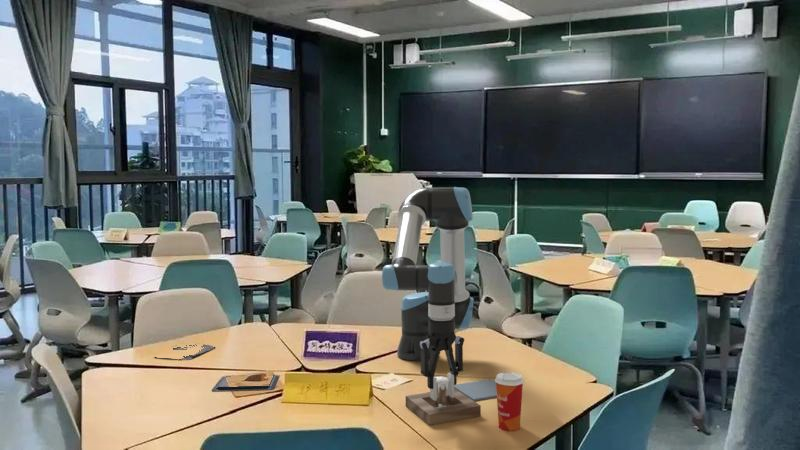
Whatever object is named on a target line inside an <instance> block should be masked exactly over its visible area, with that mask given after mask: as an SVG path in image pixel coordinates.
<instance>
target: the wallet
mask: <svg viewBox="0 0 800 450" xmlns="http://www.w3.org/2000/svg"><path fill="white" fill-rule="evenodd" d="M272 375H273V378H272V380H271V382H270V384H269V386H238V387H228V385H227V382H226V378H227V377H231V376H232V375H225V376H222V377H221V378H220V379H219V380H218V382H217V383H216V384H215V385H214V386H213V387H212V388H211V393H212V392H214V393H217V392H220V393H222V392H223V393H225V392H245V391H246V392H247V391H249V392H250V391H251V392H252V391H253V392H255V391H273V390H275V389H276V387H277V383H278V381H279V379H280V376H281V375H279V374H278V375H277V374H272Z"/></svg>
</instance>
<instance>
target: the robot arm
mask: <svg viewBox="0 0 800 450" xmlns="http://www.w3.org/2000/svg"><path fill="white" fill-rule="evenodd" d="M472 207H473V205H472V199H471V194H470V191H469V190H468V188H466V187H457V186H452V187H451V186H449V187H448V186H447V187H441V186H439V187H429V186H428V187H422V188H421V187H420V188H419V189H417V190H415V191H413V192H411V193H410V194H409V195H408V196H407V197H406V198H405V199H404V200H403V201H402V202H401V204H400V207H399V209H398V213H397V219H398V223H399V224H398V229H397V234H396V240H395V245H394V251H393V255H392V260H391V264H386V265H384V266H383V267H382V272H381V273H382V274H381V283H382V286H383V288H384V289H385V290H386V291H387V290H388V291H389V290H391V291H421V292H414V293H410V294H407V295H405V296H403V298H402V299H401V306H400V307H401V308H400V311H401V337H400V340H399V344H398V346H397V351H396V353H397V354H396V355H397V357H398V358H399V359H401V360H402V359H403V360H405V361H411V362H412V361H417V362H419V361H420V374H421V375H422V376H423V377H425V378H427V379H426V381H427V382H426V383H427V387H428V389H429V392H430V398H431V399H433V400H434V401H436V400H437V378H436V377H437V376H435V375H436V374H435V373H436V368H437V365H438V361H439V356H440V354H441V352H443V351H444V353H445V357H446V360H447V364H448V370H449V372H447V375H446V377H447V379H448V380H449V387H448V395H449V396H450V397H452V398H454V385H456V384H457V379H458V378H457V377H458V375H459V372H460V373H461V372H462V371H463V370H464V358H463V356H464V355H463V354H464V351H463V349H464V348H463V347H464V342H465V338H464V337H462V336H460V335H456V333H455V331H456V330H465V329H469V328H470V327H471V325H472V324H471V323H472V317H473V308H474V300H475V299H474V297H471V296H470V292H469V291H468V290H467V289H466V257H465V255H466V253H465V252H466V250H465V248H466V247H465V246H466V245H465V230H466V228H468V227H469V223H470V222H471V221H473V219H474V217H473V208H472ZM426 222H435V227H436V228H437V229H438V230H439V238H440V239H439V240H440V241H439V242H440V245H439V246H440V262H433V263H430V264H429V265H425V264H424V265H423V264H421V265H418V263H417V262H418V257H419V247H420V240H421V234H422V228H423V225H424V224H425V223H426ZM423 291H424V292H423ZM453 345H454V350H453ZM451 375H452V376H451Z"/></svg>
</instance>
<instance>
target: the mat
mask: <svg viewBox="0 0 800 450" xmlns="http://www.w3.org/2000/svg"><path fill="white" fill-rule="evenodd" d="M454 389H456V390H457V391H459V392H460V393H462V394H464V395H465V396H467V397H468V398H470V399H471V400H473V401H474V402H476V401H481V400H488V399H494V398H497V390H496V382H495V380H492V379H490V378H489V379H482V380H476V381H469V382H464V383H458V384H457V383H456V385H454Z"/></svg>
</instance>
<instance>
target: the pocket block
mask: <svg viewBox="0 0 800 450" xmlns="http://www.w3.org/2000/svg"><path fill="white" fill-rule="evenodd" d="M481 406H482V405H480V404H479V403H477V402H476V401H473V400H471V399H470V398H468V397H467V396H465V395H464V394H462V393H460V392H459V391H457V390H456V389H454V398H452V397H450V396H449V395H448V398H447V406H446V407H440V408H435V401H434V400H433V399H431V398H430V391H429V392H422V393H421V392H420V393H418V394H417V393H416V394H410V395H406V396H405V407H406V408H407V409H409V410H410V411H411V412H412V413H414V414H415V415H416V416H417V417H418V418H420V419H421V420H422V421H424V422H425V423H426V424H427V425H428V426H433V425H439V424H443V423H450V422H455V421H462V420H466V419H471V418H477V417H481V416H482V415H481V414H482V413H481V411H482V410H481V408H482V407H481Z"/></svg>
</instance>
